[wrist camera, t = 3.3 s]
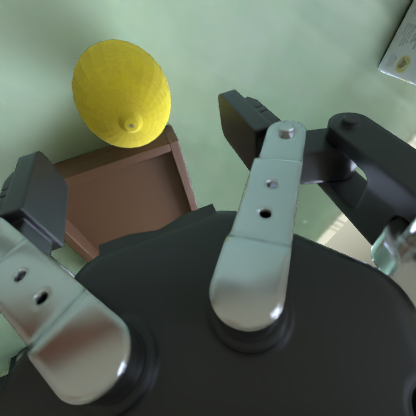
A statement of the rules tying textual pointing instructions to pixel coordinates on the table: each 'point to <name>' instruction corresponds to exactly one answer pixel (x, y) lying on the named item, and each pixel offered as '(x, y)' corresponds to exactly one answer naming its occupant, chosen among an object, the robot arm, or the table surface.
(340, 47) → the table surface
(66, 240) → the tray
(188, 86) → the table surface
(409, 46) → the coffee box
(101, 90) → the lemon
